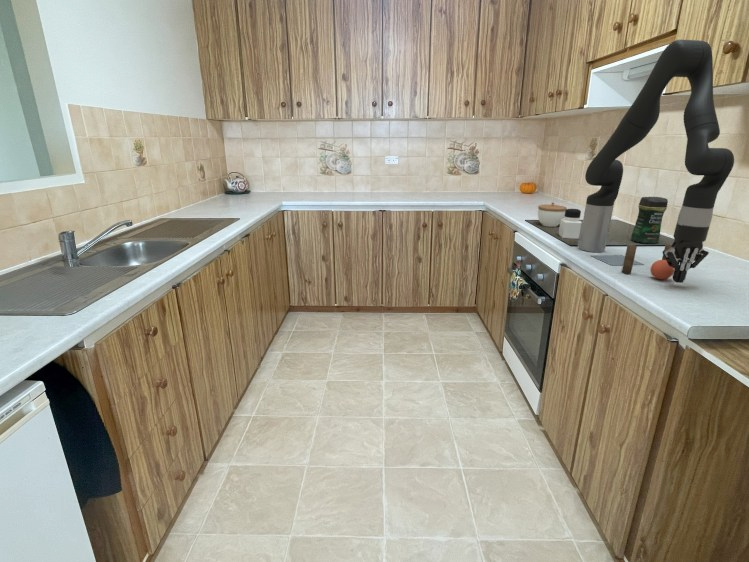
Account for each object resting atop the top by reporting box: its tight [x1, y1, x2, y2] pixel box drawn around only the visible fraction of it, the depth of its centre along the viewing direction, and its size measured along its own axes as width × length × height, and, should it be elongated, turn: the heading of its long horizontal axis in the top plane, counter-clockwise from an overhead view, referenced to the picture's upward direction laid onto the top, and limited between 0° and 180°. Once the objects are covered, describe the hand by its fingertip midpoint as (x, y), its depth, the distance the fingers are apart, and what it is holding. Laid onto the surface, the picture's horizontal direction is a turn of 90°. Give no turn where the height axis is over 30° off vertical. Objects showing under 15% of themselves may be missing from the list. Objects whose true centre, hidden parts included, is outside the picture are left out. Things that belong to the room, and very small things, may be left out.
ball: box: [650, 259, 675, 280], centre depth 130 cm, size 6×6×6 cm
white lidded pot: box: [537, 201, 568, 228], centre depth 205 cm, size 13×13×11 cm
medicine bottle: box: [558, 208, 583, 240], centre depth 182 cm, size 7×7×12 cm
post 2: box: [661, 243, 673, 260], centre depth 136 cm, size 3×3×9 cm
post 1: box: [621, 244, 638, 275], centre depth 134 cm, size 3×3×9 cm
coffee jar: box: [630, 196, 669, 244], centre depth 174 cm, size 10×8×19 cm
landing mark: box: [590, 254, 645, 267], centre depth 150 cm, size 12×12×1 cm
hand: (677, 281), depth 124 cm, fingers closed
